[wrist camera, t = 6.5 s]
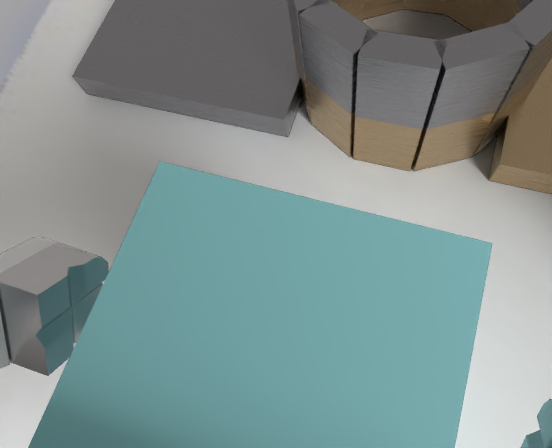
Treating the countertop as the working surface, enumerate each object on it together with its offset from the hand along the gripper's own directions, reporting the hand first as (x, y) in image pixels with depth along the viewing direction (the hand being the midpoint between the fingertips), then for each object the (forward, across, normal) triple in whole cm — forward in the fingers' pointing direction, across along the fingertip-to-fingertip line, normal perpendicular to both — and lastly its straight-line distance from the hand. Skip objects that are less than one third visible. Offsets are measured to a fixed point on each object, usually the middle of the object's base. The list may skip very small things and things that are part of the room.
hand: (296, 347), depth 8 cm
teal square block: (+7, 0, +8) cm, 11 cm away
